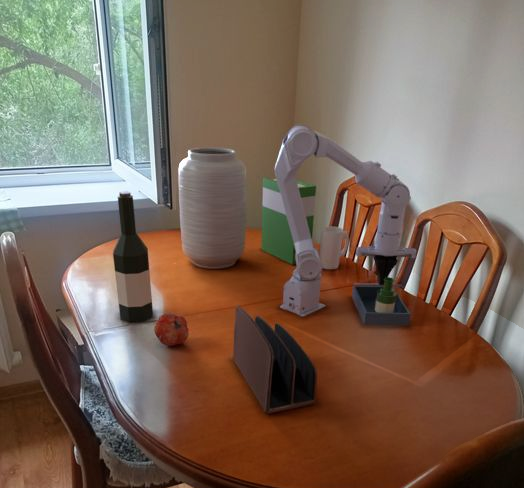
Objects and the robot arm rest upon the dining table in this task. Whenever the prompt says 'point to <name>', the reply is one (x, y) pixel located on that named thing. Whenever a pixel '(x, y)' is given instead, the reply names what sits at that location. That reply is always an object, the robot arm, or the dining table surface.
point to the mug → (332, 246)
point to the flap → (375, 284)
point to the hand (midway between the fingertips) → (381, 283)
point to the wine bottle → (131, 267)
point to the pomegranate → (171, 329)
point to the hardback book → (283, 219)
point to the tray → (366, 307)
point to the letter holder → (273, 364)
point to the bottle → (386, 297)
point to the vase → (212, 207)
